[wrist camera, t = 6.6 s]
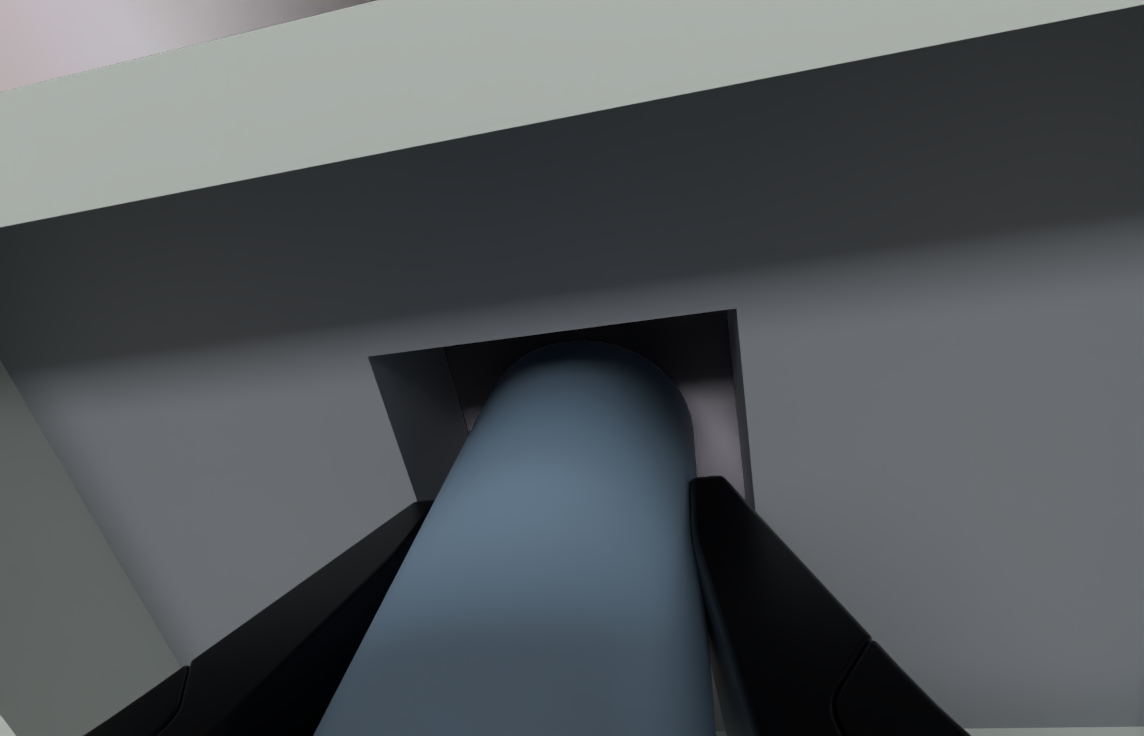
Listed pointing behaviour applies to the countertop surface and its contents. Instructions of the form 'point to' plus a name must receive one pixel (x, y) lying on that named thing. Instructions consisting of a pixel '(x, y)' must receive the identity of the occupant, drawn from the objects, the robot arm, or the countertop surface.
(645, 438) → the peg
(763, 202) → the box
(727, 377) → the countertop surface
